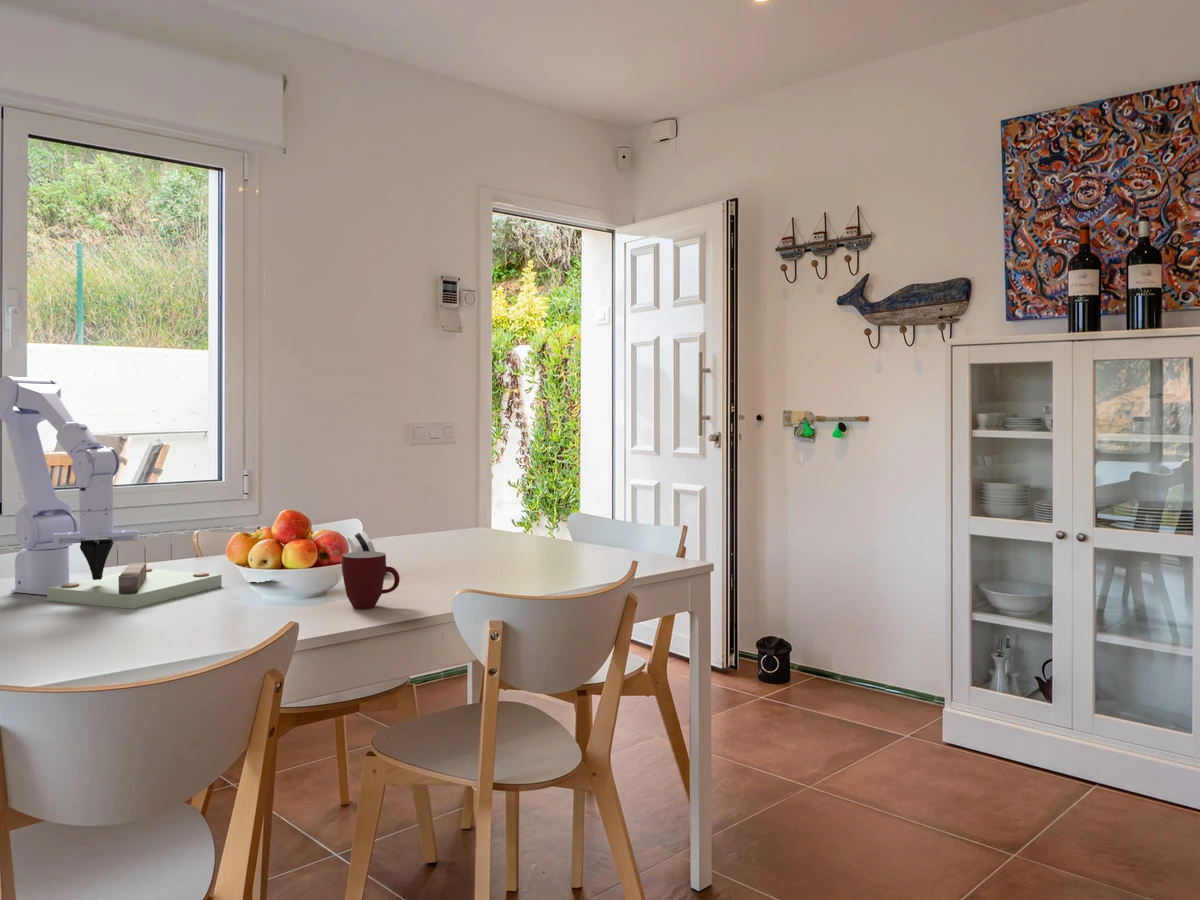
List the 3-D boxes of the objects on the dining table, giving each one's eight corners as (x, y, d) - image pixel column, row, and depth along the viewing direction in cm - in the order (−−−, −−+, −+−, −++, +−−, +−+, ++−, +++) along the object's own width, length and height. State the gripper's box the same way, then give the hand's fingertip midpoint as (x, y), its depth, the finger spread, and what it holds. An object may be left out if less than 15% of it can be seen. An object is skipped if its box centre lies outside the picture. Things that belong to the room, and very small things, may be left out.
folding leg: (136, 592, 164) (136, 577, 164) (117, 594, 163) (117, 578, 162) (146, 576, 180) (146, 562, 180) (129, 577, 179) (129, 563, 179)
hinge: (389, 574, 200) (374, 534, 198) (369, 582, 198) (354, 542, 197) (377, 562, 215) (363, 525, 214) (358, 570, 214) (344, 532, 212)
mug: (395, 600, 172) (395, 549, 172) (402, 608, 165) (402, 556, 164) (339, 604, 168) (339, 552, 168) (344, 613, 161) (344, 559, 160)
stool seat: (47, 600, 169) (46, 586, 169) (142, 579, 191) (142, 567, 191) (132, 608, 163) (132, 593, 162) (221, 586, 184) (221, 573, 184)
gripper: (49, 513, 165) (50, 585, 165) (135, 510, 170) (136, 580, 170) (56, 509, 171) (57, 578, 172) (139, 507, 176) (140, 574, 177)
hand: (97, 578), depth 171 cm, fingers closed
